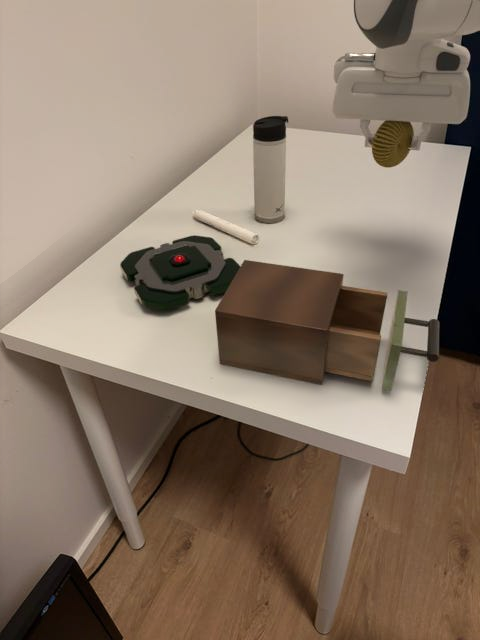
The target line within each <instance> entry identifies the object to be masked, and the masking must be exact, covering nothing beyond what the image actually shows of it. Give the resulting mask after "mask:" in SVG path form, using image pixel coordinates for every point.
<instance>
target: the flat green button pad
mask: <svg viewBox="0 0 480 640" xmlns="http://www.w3.org/2000/svg"><path fill="white" fill-rule="evenodd" d="M119 266H120V270H121V273H122V274H123V276H124V277H125V280H126V281H127V282H130V283H131V282H134V283H135V286H134V287H133V291H134V294H135V296H136V298H137V299H138V301H139V302H140V304H141V306H142V307H143V308H148V309H152V310H153V309H154V310H159V311H169V310H172V309H175V308H178V307H180V306H184V305H187V304H190V302H191V299H192V298H193V299H194V300H198V299H201V298H204V296H205V294H206V293H209V294H210V295H211V296H216V295H219V294H222V293H226V291H227V289H228V287H229V286H230V284H231V282H232V281H233V279H234V277H235V275H236V274H237V272H238V270H239V268H240V267H241V265H240V264H239V263H238V262H237V261H236V260H235V259H234V258H233V257H228V258H225V256H224V252H223V250H222V246H221V245H220V244H219V243H218V242H217V241H216V240H215V239H214V238H213V237H211V236H203V235H197V234H196V235H189V236H185V237H182V238H178V239H174V240H172V242H171V243H169V242H165V243H162V244H160V246H159V247H156V248H155V247H154V246H149V247H146V248H142V249H138V250H134V251H132V252H130V253H128V254H127V255H126V256H125V257H124V258H123V260H122V261H121V262H120V265H119Z"/></svg>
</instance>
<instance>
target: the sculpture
mask: <svg viewBox="0 0 480 640" xmlns="http://www.w3.org/2000/svg"><path fill="white" fill-rule="evenodd" d="M374 134H375V136H376V137H374V139H375V140H373V143H372V147H371V154H372V158H373V160H374V161H375V163H376V164H377V165H379V166H380V167H382V168H388V169H389V168H390V169H391V168H393V167H396V166H398V165H400V164H401V163H402V162H403V161H405V159H406V158H408V157H407V156H408V155H409V153H410V152H411V150H410V148H411V142H412V137H413V136H415V135H414V134H415V132H414V127H413V124H412V122H404V121H383V122H382V123H381V124H380V126H379V127H378V128H377V130H376V132H375V133H374Z"/></svg>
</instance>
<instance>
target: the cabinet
mask: <svg viewBox="0 0 480 640" xmlns="http://www.w3.org/2000/svg"><path fill="white" fill-rule="evenodd" d="M240 266H241V267H240V268H239V270H238V272H237V274H236V275H235V277H234V279H233V281H232V282H231V284H230V286H229V287H228V289H227V291H225V292H224V295H223V296H222V297H221V300H220V301H219V302H218V305H217V306H216V308H215V310H214V316H215V327H216V336H217V337H216V339H217V350H218V361H219V364H220V365H224V366H228V367H229V366H230V367H234V368H239V369H243V370H249V371H252V372H259V373H264V374H267V375H272V376H277V377H282V378H287V379H292V380H297V381H302V382H307V383H312V384H317V385H323V383H324V379H325V375H326V372H324V369H325V359H326V349H327V339H328V331H329V327H330V323H331V320H332V316H333V313H334V309H335V306H336V302H337V299H338V295H339V292H340V288H341V286H344V284H343V283H344V277H345V275H344V273H339V272H333V271H332V272H331V271H325V270H318V269H311V268H304V267H297V266H290V265H285V264H277V263H269V262H262V261H257V260H249V259H244V260H243V261H242V263H241V265H240Z"/></svg>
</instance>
